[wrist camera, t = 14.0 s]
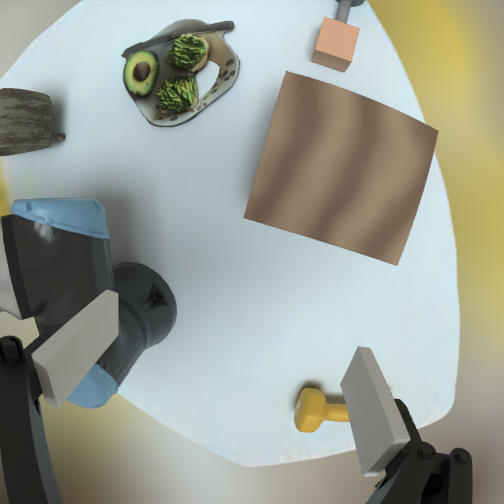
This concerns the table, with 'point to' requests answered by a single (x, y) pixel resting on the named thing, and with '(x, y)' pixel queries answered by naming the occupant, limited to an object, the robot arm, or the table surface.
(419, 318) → the table surface
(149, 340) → the robot arm
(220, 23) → the avocado toast plate
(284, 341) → the table surface
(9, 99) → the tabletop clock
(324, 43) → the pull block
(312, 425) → the dumbbell
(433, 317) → the table surface
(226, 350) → the table surface
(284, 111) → the lane shelf
